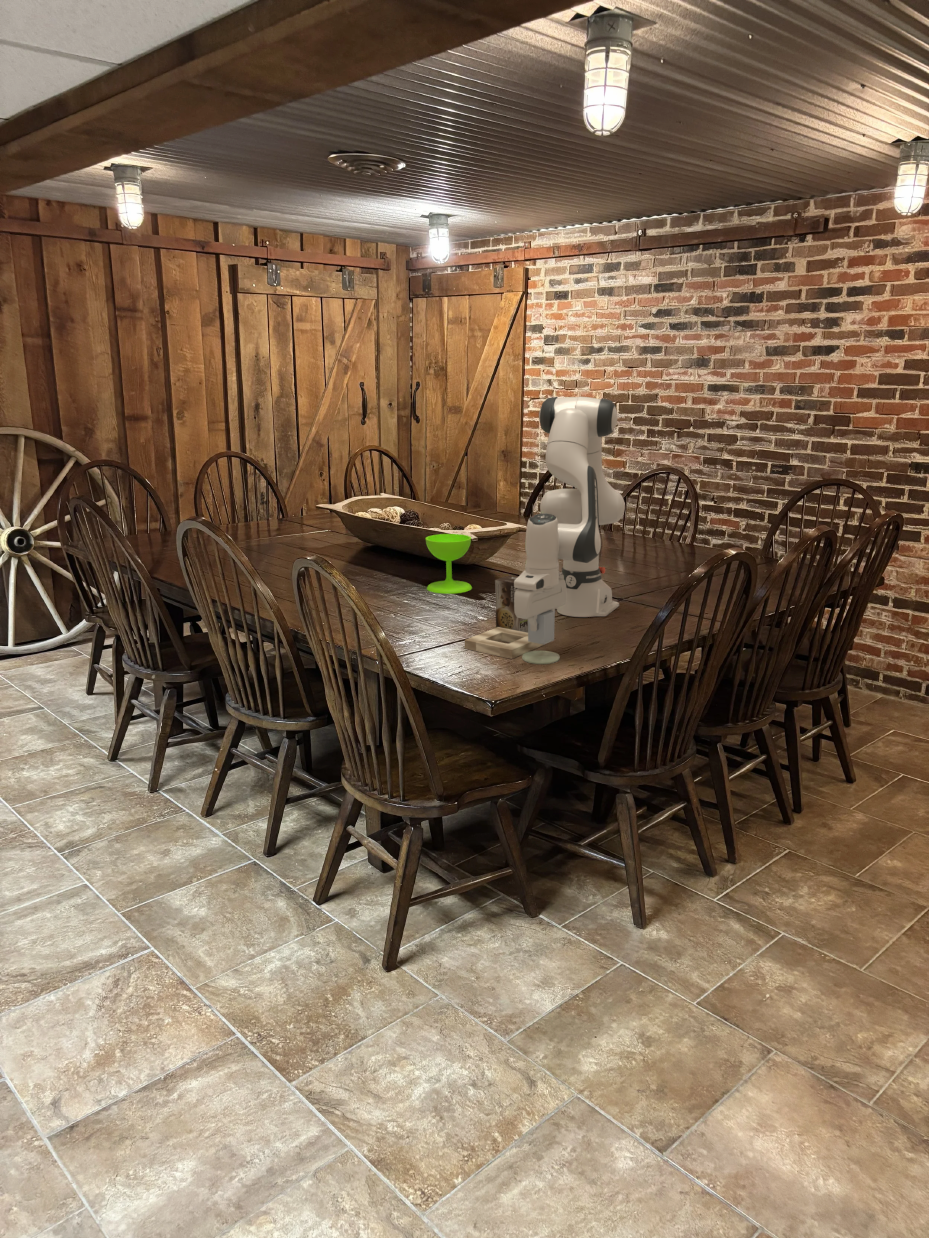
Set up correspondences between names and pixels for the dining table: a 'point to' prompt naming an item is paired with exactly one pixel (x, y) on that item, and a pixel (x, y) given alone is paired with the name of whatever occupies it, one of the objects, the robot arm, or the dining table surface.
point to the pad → (540, 657)
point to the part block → (543, 628)
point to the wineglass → (448, 560)
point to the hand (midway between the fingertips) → (541, 627)
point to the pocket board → (493, 646)
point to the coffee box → (507, 605)
